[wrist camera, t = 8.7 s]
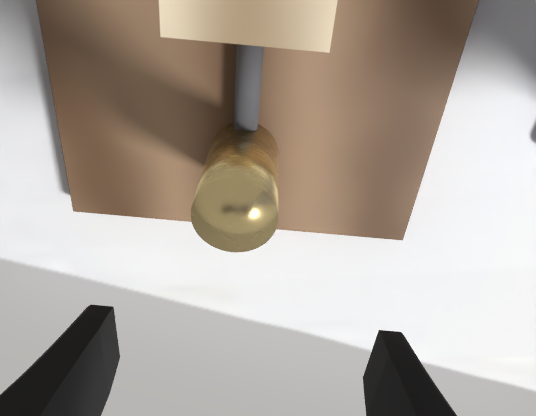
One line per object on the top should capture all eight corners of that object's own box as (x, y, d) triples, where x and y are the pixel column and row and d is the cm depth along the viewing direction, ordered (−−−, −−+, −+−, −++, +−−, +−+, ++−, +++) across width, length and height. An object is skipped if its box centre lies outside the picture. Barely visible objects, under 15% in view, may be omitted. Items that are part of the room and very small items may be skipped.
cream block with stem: (343, -144, 14) (370, -173, 10) (297, 188, 20) (301, 257, 16) (182, -161, 14) (138, -197, 10) (187, 178, 20) (163, 246, 16)
